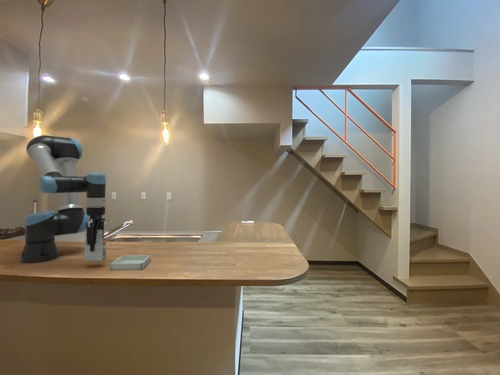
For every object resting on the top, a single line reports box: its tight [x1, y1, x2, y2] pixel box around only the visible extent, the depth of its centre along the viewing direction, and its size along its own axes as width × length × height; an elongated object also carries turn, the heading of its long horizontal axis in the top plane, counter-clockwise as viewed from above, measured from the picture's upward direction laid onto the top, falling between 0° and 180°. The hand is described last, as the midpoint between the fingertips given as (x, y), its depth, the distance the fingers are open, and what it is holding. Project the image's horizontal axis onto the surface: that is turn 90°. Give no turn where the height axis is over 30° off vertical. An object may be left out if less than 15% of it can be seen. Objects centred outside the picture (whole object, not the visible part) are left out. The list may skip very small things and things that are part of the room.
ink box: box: [84, 229, 107, 262], centre depth 123 cm, size 4×8×15 cm, turn 96°
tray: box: [109, 254, 151, 271], centre depth 126 cm, size 14×13×3 cm
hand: (95, 256), depth 123 cm, fingers closed on ink box, 4 cm apart
